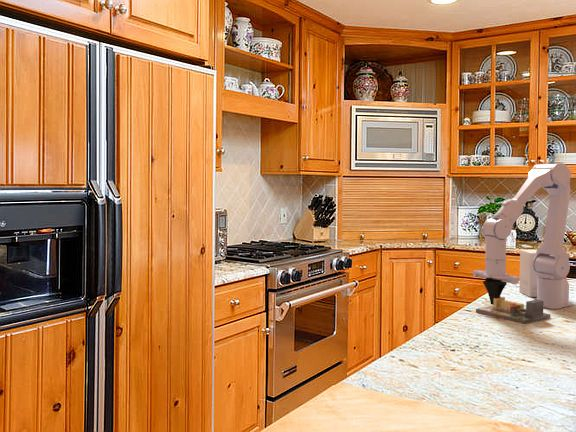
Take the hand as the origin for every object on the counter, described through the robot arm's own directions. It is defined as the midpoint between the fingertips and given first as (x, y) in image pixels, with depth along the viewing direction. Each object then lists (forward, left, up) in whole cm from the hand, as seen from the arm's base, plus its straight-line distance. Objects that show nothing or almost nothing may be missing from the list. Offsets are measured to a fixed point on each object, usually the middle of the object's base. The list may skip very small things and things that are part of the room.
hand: (494, 304), depth 165 cm
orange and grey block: (+4, +9, -1) cm, 10 cm away
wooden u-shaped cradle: (+1, +5, -1) cm, 5 cm away
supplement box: (-32, -7, -2) cm, 33 cm away
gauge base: (0, +6, -2) cm, 7 cm away
